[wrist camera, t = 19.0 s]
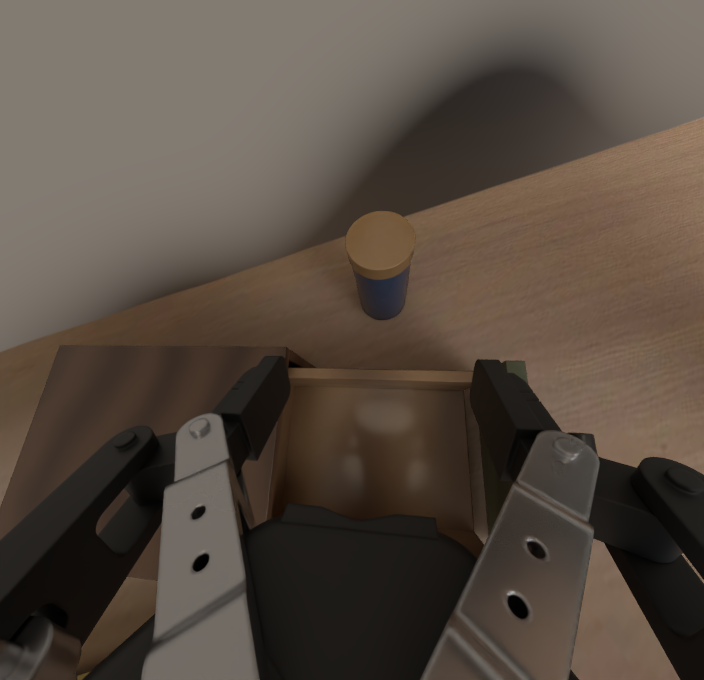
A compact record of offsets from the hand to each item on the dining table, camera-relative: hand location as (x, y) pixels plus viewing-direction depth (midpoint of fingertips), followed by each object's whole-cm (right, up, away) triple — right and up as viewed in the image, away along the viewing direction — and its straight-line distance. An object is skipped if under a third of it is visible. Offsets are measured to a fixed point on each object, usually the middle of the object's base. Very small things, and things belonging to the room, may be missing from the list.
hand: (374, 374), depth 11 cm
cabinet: (-15, -8, +15) cm, 23 cm away
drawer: (+4, -8, +12) cm, 15 cm away
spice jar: (+2, +6, +17) cm, 18 cm away
